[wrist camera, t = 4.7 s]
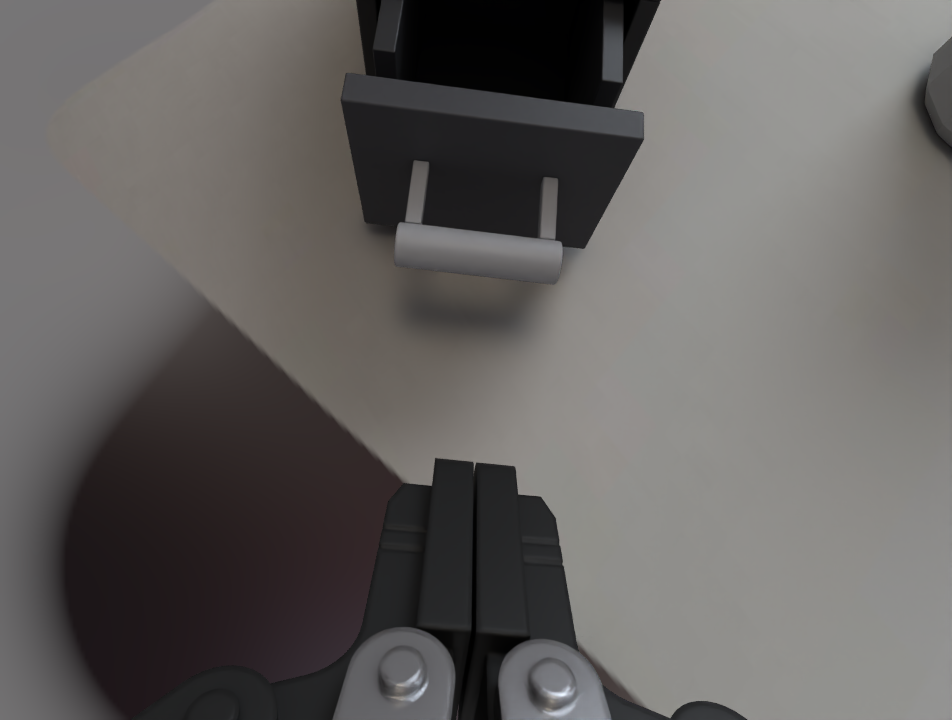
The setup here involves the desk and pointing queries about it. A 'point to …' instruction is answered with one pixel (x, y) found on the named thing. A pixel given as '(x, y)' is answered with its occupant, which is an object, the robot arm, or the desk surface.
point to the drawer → (491, 131)
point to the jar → (941, 92)
